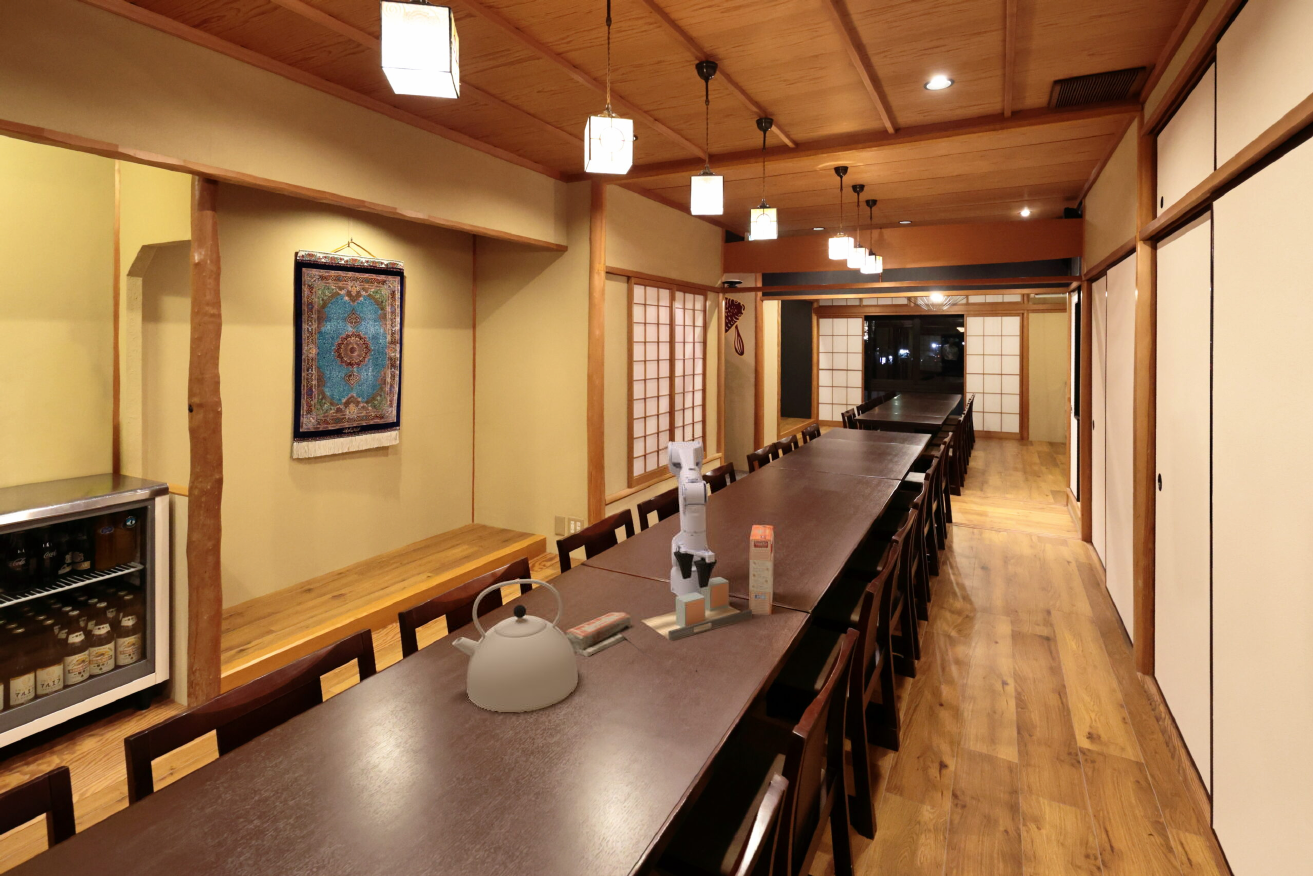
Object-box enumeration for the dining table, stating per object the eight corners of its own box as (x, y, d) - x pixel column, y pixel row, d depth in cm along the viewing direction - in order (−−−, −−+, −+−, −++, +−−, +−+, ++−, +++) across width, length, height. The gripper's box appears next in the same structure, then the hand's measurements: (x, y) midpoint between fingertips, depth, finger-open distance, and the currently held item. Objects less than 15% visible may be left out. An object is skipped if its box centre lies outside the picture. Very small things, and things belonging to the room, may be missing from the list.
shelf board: (641, 625, 168) (640, 612, 168) (719, 604, 180) (719, 593, 180) (670, 645, 156) (670, 632, 156) (752, 622, 168) (752, 610, 168)
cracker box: (772, 619, 170) (772, 539, 167) (748, 618, 171) (748, 538, 169) (774, 599, 184) (774, 524, 181) (751, 597, 185) (751, 523, 182)
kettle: (452, 722, 126) (444, 607, 123) (457, 668, 148) (451, 569, 145) (584, 703, 132) (580, 593, 129) (571, 653, 154) (567, 558, 151)
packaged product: (586, 639, 151) (557, 627, 157) (587, 659, 151) (558, 647, 158) (641, 614, 164) (612, 604, 171) (641, 633, 165) (612, 623, 171)
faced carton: (701, 606, 176) (700, 581, 175) (719, 602, 179) (719, 576, 178) (710, 612, 172) (710, 585, 172) (729, 607, 176) (729, 581, 175)
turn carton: (676, 624, 165) (675, 597, 164) (696, 619, 168) (695, 592, 167) (685, 630, 162) (685, 602, 161) (706, 624, 165) (705, 597, 164)
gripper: (665, 526, 172) (666, 577, 173) (697, 539, 159) (698, 594, 161) (688, 522, 175) (689, 572, 177) (721, 534, 163) (721, 588, 165)
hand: (695, 582), depth 169 cm, fingers open, 7 cm apart
